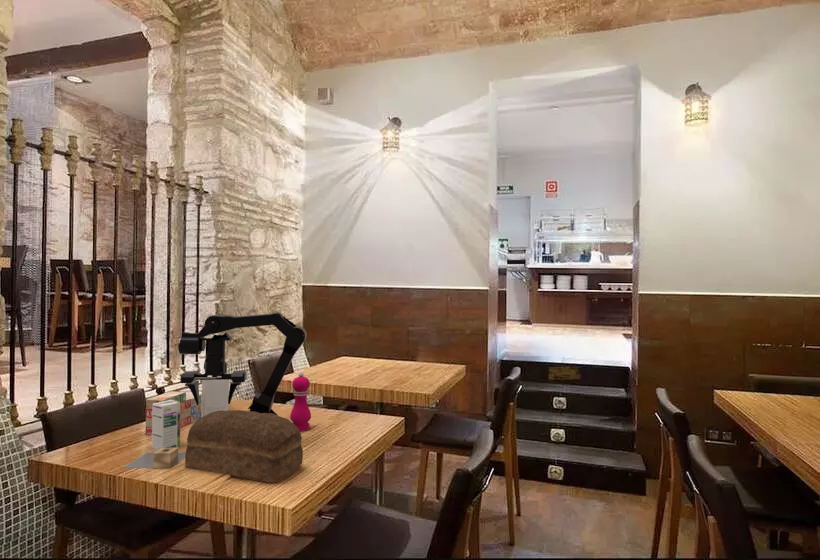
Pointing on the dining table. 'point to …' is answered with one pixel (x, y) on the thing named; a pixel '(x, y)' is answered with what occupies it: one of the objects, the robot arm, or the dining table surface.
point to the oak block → (165, 458)
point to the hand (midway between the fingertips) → (213, 404)
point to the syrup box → (166, 424)
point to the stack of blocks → (187, 408)
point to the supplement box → (214, 395)
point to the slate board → (149, 461)
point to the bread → (245, 445)
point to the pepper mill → (301, 403)
